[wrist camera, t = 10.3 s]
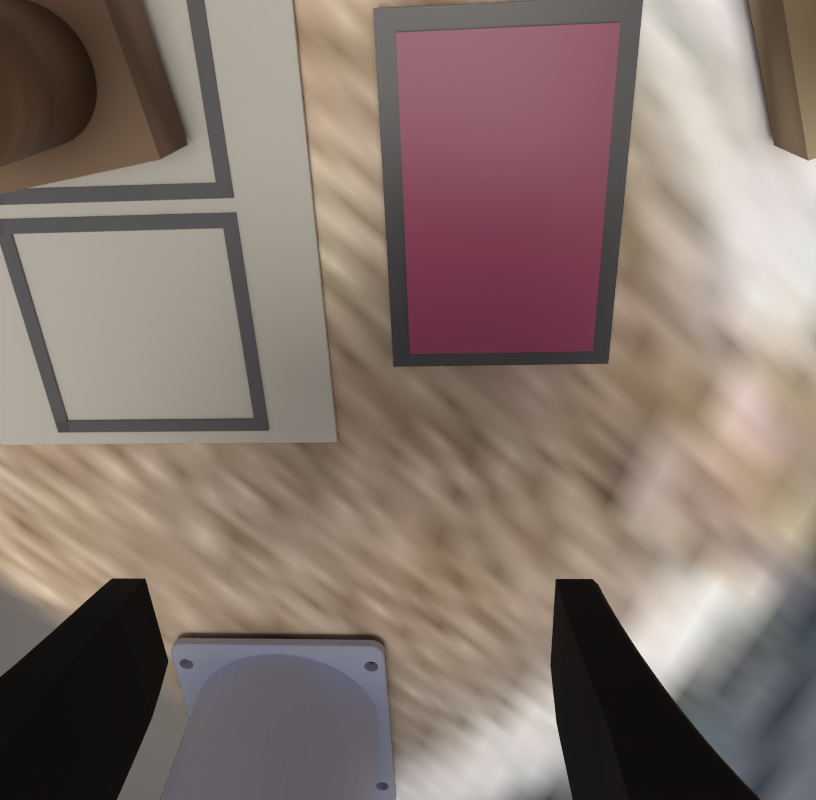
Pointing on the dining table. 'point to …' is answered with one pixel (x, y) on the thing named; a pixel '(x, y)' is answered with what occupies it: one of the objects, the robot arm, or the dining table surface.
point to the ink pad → (505, 176)
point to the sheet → (178, 262)
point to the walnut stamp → (80, 91)
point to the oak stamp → (788, 70)
